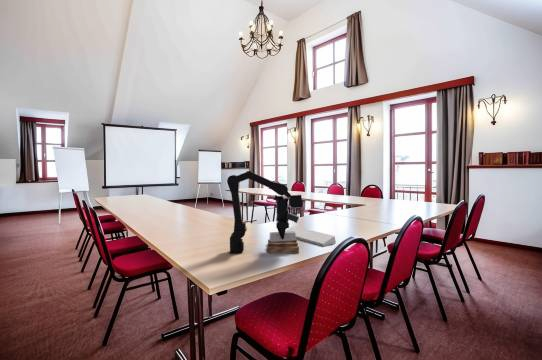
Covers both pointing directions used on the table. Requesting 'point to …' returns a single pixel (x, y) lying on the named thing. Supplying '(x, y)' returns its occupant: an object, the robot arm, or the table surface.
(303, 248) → the table surface
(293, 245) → the drying rack
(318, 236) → the decorative molding
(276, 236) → the clay strip
